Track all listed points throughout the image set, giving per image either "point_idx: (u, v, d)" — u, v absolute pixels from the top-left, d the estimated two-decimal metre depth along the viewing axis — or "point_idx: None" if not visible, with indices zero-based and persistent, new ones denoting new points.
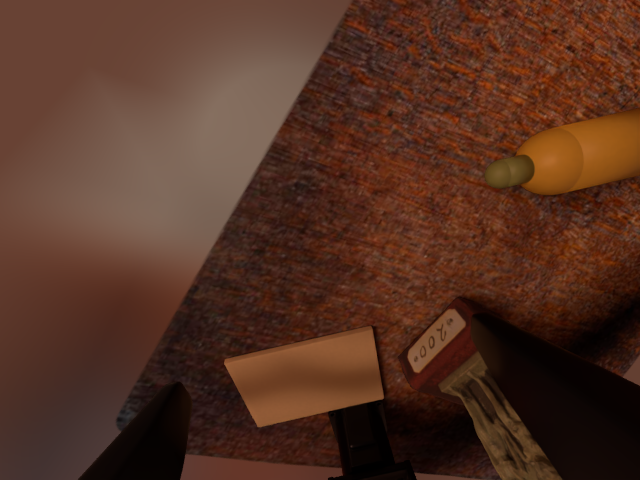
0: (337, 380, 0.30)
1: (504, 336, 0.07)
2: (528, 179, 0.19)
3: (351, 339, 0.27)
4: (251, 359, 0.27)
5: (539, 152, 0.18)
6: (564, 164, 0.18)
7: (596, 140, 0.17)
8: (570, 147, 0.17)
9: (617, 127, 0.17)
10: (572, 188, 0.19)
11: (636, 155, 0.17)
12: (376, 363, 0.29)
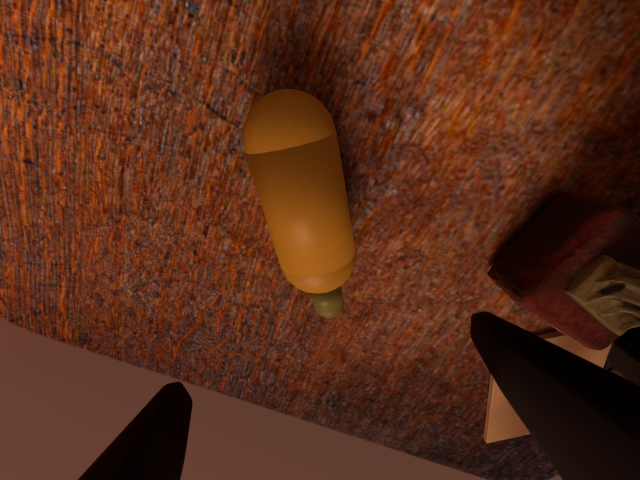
0: None
1: (504, 336, 0.07)
2: (334, 291, 0.17)
3: None
4: (490, 429, 0.30)
5: None
6: (315, 289, 0.15)
7: (289, 259, 0.15)
8: (297, 283, 0.15)
9: (274, 230, 0.14)
10: (346, 261, 0.15)
11: (305, 216, 0.13)
12: (551, 339, 0.24)
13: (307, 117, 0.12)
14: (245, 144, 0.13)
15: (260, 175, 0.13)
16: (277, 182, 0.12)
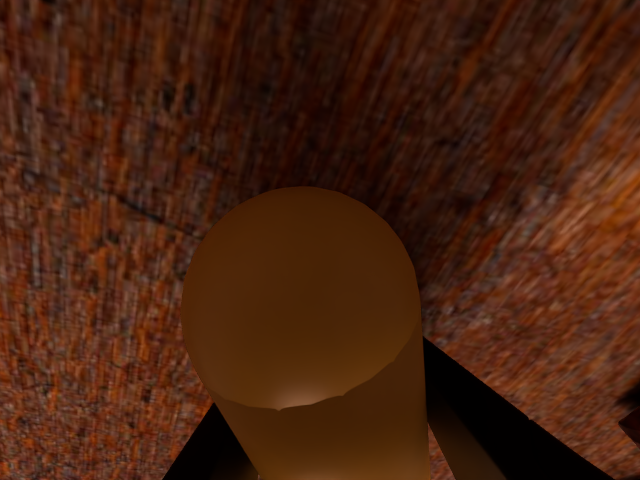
0: None
1: None
2: None
3: None
4: None
5: None
6: None
7: None
8: None
9: None
10: None
11: None
12: None
13: (362, 309, 0.04)
14: (185, 342, 0.05)
15: (226, 419, 0.05)
16: (271, 455, 0.05)
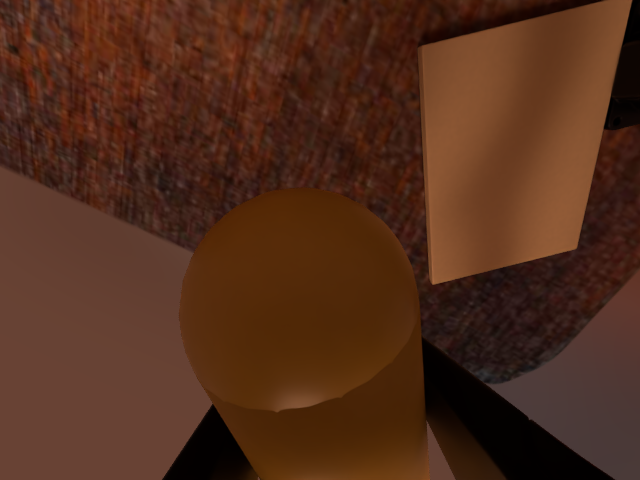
0: (528, 115, 0.16)
1: None
2: None
3: (437, 91, 0.15)
4: (435, 253, 0.19)
5: None
6: None
7: None
8: None
9: None
10: None
11: None
12: (515, 26, 0.14)
13: (360, 310, 0.04)
14: (183, 343, 0.05)
15: (225, 420, 0.05)
16: (270, 457, 0.05)
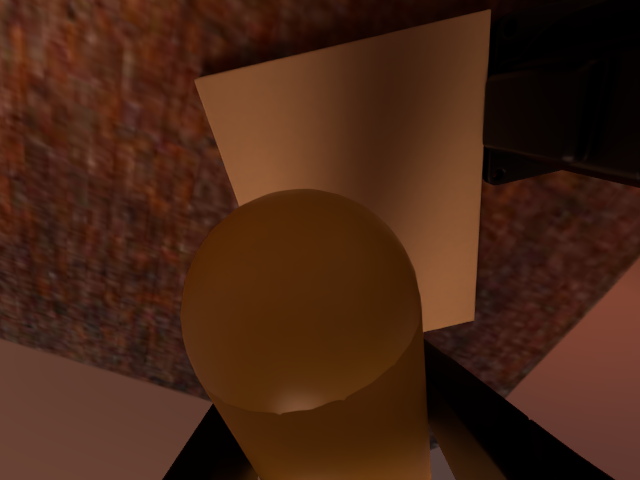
0: (373, 168, 0.12)
1: None
2: None
3: (233, 139, 0.11)
4: None
5: None
6: None
7: None
8: None
9: None
10: None
11: None
12: (326, 53, 0.10)
13: (363, 313, 0.04)
14: (185, 345, 0.05)
15: (227, 422, 0.05)
16: (272, 459, 0.05)
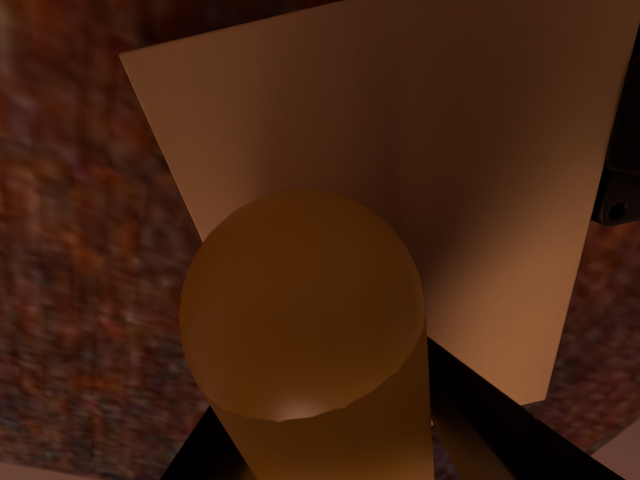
0: (426, 204, 0.07)
1: None
2: None
3: (197, 160, 0.06)
4: None
5: None
6: None
7: None
8: None
9: None
10: None
11: None
12: (359, 8, 0.05)
13: (365, 319, 0.04)
14: (183, 348, 0.05)
15: (226, 427, 0.05)
16: (271, 466, 0.04)
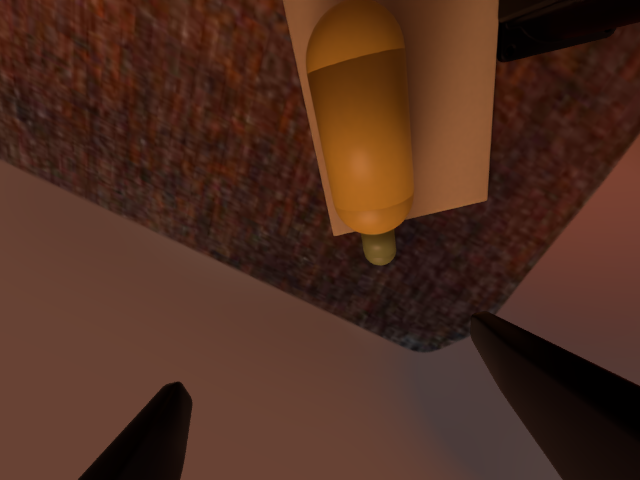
0: (408, 41, 0.15)
1: (504, 336, 0.07)
2: (389, 233, 0.16)
3: (299, 10, 0.14)
4: (330, 199, 0.18)
5: (360, 232, 0.16)
6: (376, 225, 0.15)
7: (351, 192, 0.14)
8: (357, 220, 0.15)
9: (336, 159, 0.14)
10: (409, 194, 0.14)
11: (375, 138, 0.12)
12: None
13: (384, 21, 0.11)
14: (312, 60, 0.12)
15: (328, 93, 0.12)
16: (348, 98, 0.12)
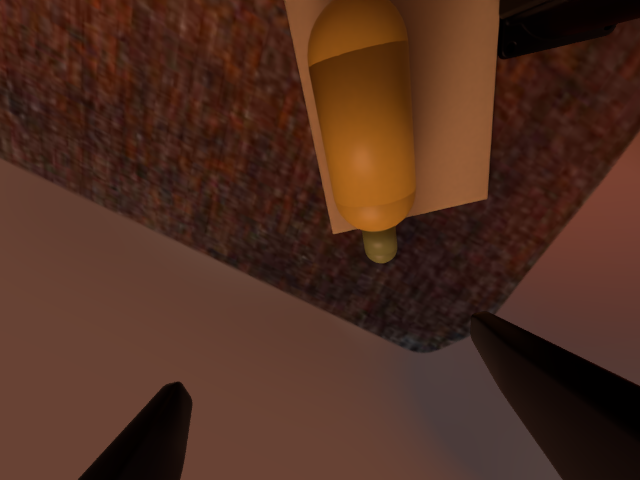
0: (409, 37, 0.15)
1: (504, 336, 0.07)
2: (391, 230, 0.16)
3: (300, 3, 0.14)
4: (330, 197, 0.18)
5: (361, 229, 0.16)
6: (379, 221, 0.14)
7: (354, 187, 0.14)
8: (360, 216, 0.14)
9: (339, 154, 0.13)
10: (411, 190, 0.14)
11: (379, 131, 0.12)
12: None
13: (388, 13, 0.11)
14: (315, 51, 0.12)
15: (331, 85, 0.12)
16: (352, 90, 0.12)
